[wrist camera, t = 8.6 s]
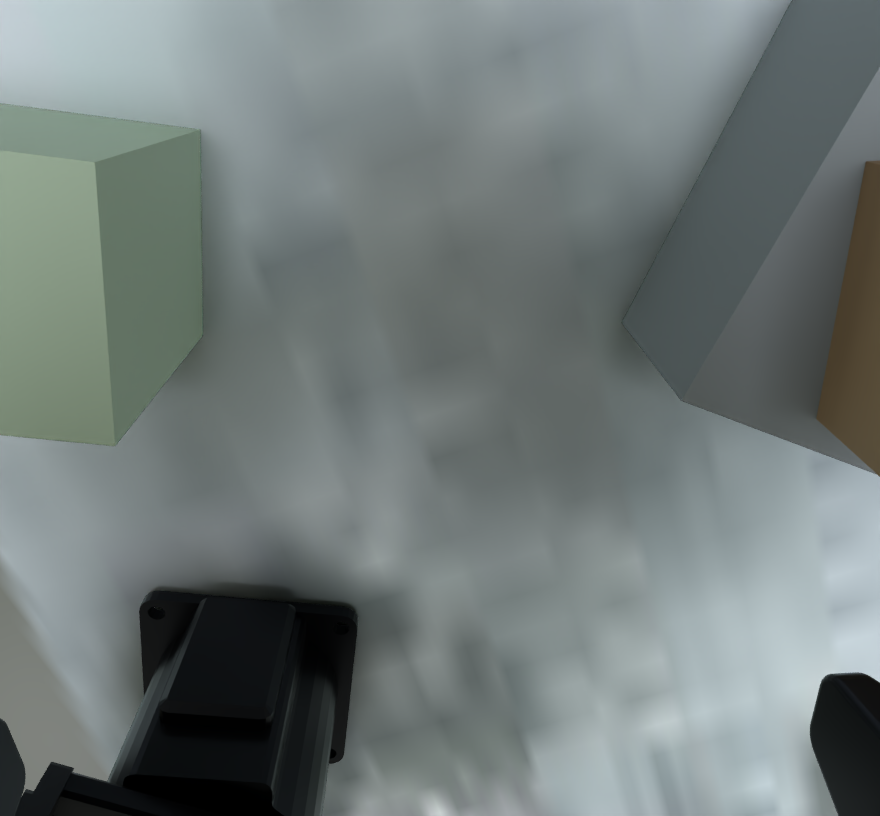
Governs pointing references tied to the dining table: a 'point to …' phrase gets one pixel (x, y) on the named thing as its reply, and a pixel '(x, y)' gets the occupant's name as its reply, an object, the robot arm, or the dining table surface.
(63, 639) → the dining table surface
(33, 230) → the sage block
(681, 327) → the slate base
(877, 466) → the walnut block
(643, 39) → the dining table surface
